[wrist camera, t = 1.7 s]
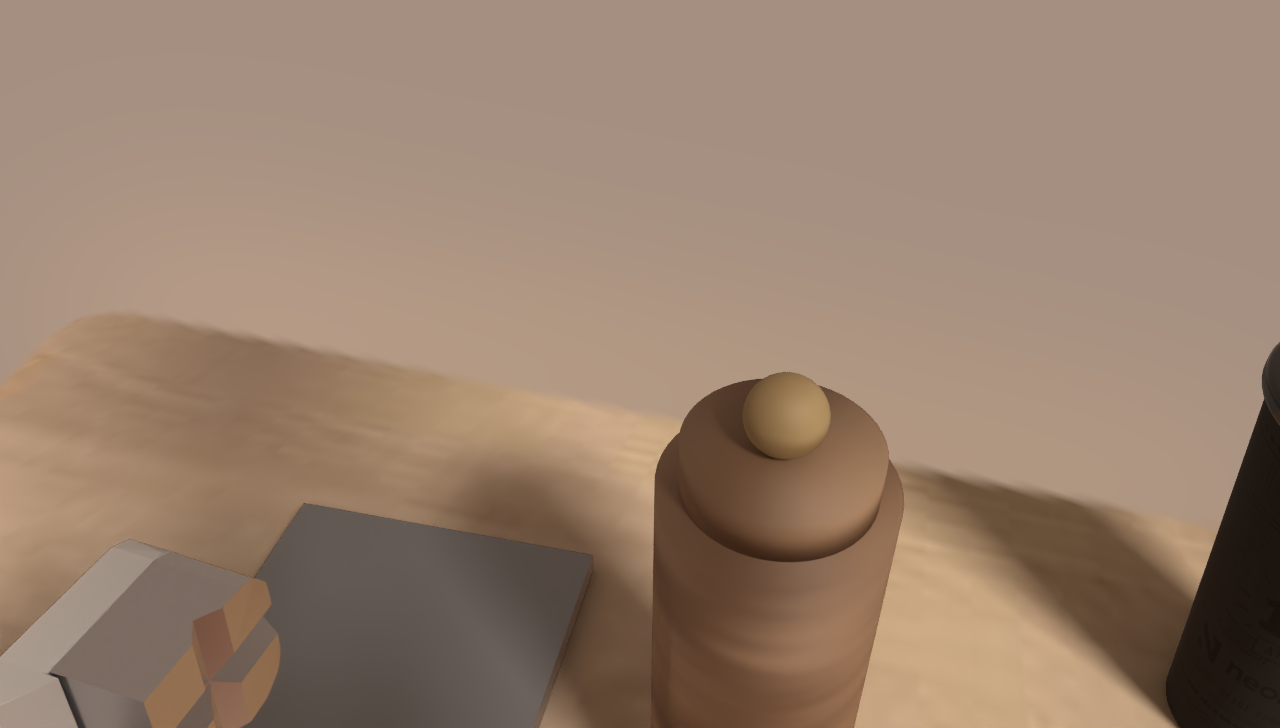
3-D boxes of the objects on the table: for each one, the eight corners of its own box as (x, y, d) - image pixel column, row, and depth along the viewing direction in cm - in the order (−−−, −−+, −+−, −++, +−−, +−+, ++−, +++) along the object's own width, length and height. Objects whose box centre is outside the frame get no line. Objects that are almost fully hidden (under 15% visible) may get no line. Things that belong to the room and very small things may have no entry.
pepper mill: (832, 770, 34) (929, 322, 22) (816, 941, 29) (925, 498, 18) (668, 735, 35) (684, 290, 23) (631, 897, 30) (628, 451, 19)
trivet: (593, 569, 40) (593, 555, 40) (488, 874, 31) (485, 861, 30) (308, 516, 42) (304, 503, 42) (130, 788, 33) (123, 774, 33)
